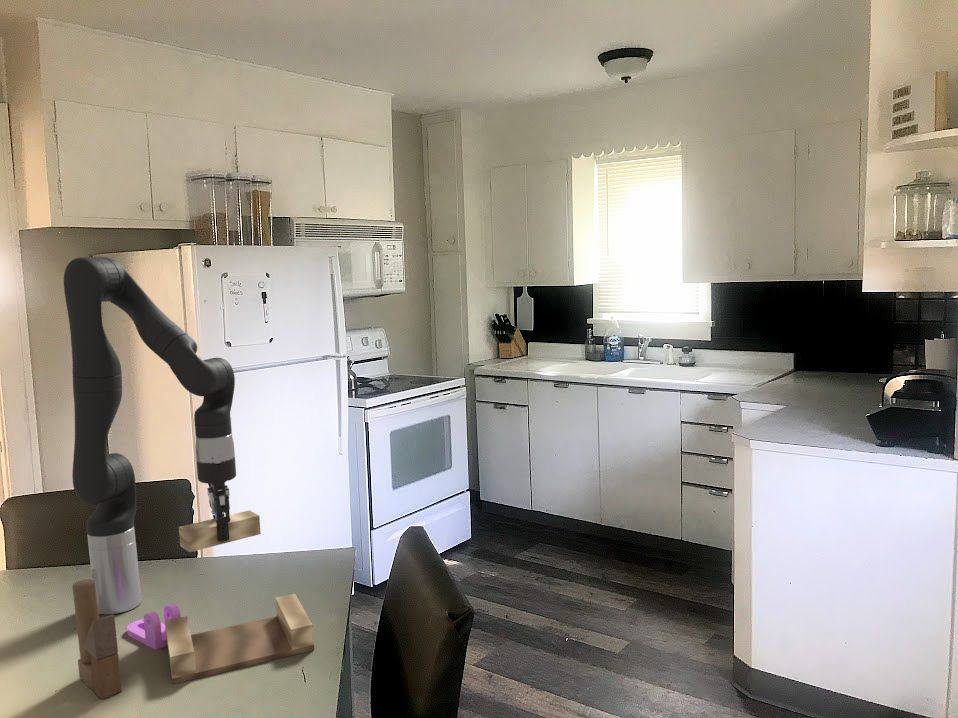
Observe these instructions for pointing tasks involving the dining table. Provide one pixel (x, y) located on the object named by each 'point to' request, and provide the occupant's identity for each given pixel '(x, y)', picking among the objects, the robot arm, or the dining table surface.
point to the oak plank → (206, 531)
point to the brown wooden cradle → (238, 642)
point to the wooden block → (96, 642)
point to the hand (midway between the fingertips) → (221, 535)
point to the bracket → (153, 627)
